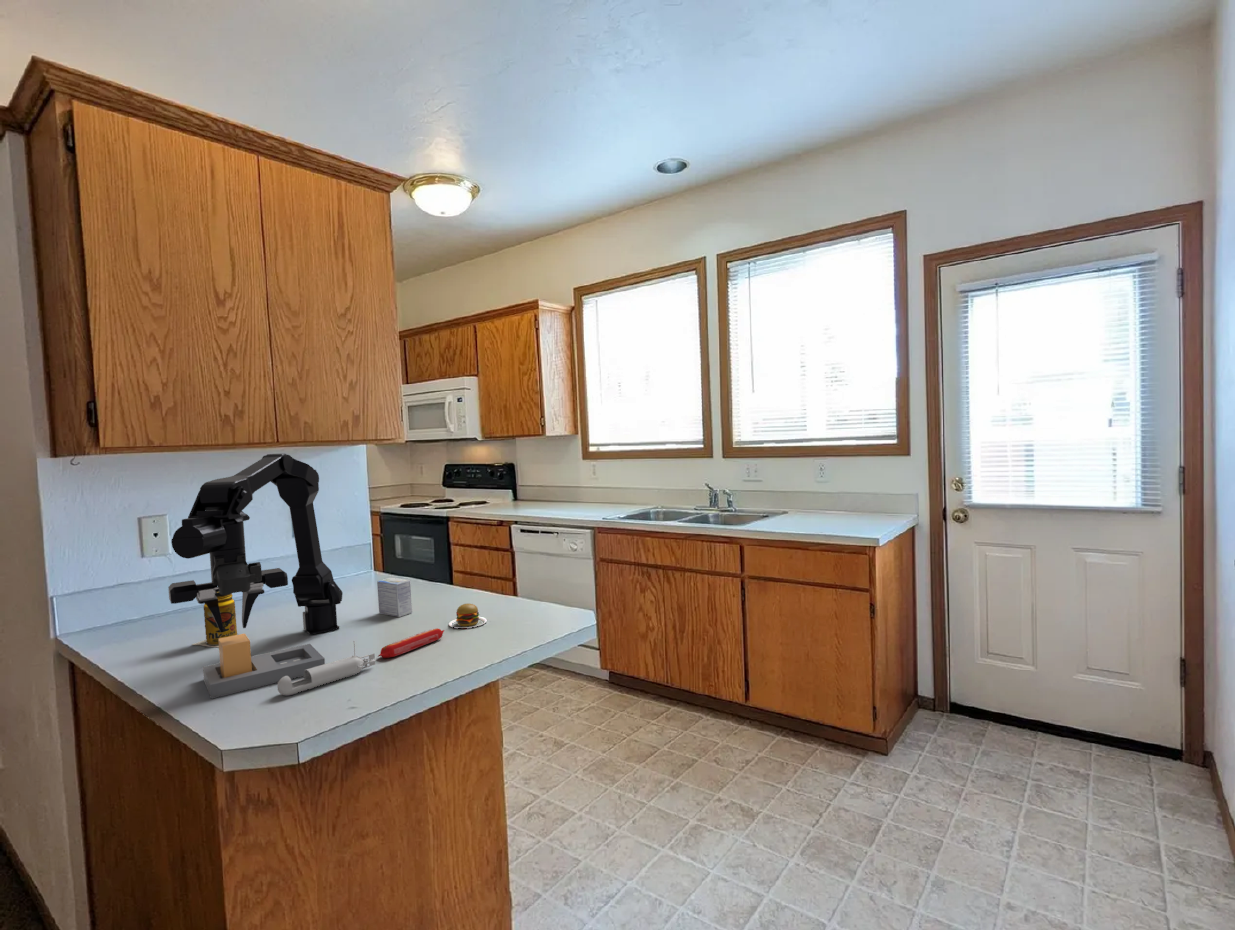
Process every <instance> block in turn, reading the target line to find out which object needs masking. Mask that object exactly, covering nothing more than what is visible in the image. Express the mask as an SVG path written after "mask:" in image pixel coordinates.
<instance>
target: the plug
mask: <svg viewBox="0 0 1235 930" xmlns="http://www.w3.org/2000/svg"><path fill="white" fill-rule="evenodd" d="M250 640H251V639H250V638H249V637H248V636H247V634H246V633H240V634H237V635H234V636H229V637H224V638H219V639H218V641H219V647H218V652H219V653H218V655H219V663H220V669H221V676H222V678H225V677H230V676H234V675H239V674H243V673H247V672H252V664H251V656H252V652H251V641H250Z"/></svg>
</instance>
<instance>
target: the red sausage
mask: <svg viewBox="0 0 1235 930" xmlns="http://www.w3.org/2000/svg"><path fill="white" fill-rule="evenodd" d="M444 632H445V630H444V629H443V630H441V629H440V628H431V629H427V630H424V631H422V632H418V633H416V634H414V635H411V636H408V637H405V638H403V639H399V640H397V641H395V642H394V641H393V642H391V643H389V644H387V645H385V646H383V647H382V648H381V649H380V653H379V654H378V656H377V657H378V658H379V657H381V658H382V659H389V658H394V657H397V656H400V655H403V654H405V653H408V652H410V651H413V650H415V649H419V648H421V647H423V646H425V645H428V644H431V643H433V642H436V641H438V640H439V639H442V638H443V636H444V635H443V634H444Z"/></svg>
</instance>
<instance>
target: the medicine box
mask: <svg viewBox="0 0 1235 930" xmlns="http://www.w3.org/2000/svg"><path fill="white" fill-rule="evenodd" d="M411 587H412V585H411V580H410V579H404V578H397V577H387V578H384V579H380V580H378V581H377V599H378V602H377V603H378V613H379V614H382V615H385V616H386V615H387V616H392V617H398V618H401V617H404V616H406V615H410V614H412V613H413V603H412V588H411Z"/></svg>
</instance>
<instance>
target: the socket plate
mask: <svg viewBox="0 0 1235 930" xmlns="http://www.w3.org/2000/svg"><path fill="white" fill-rule="evenodd" d="M251 664H252V672H247V673H243V674H239V675H234V676H230V677H225V678H222V676H221V669H220V662H219V663H214V664H209V665H205V666H202V674H203V682H204V683H205V687H206V689H207V691H208V694H209V697H210V699H215V698H220V697H223V696H228V695H232V694H236V693H240V691H241V692H244V691H243V690H245V691H248V690H247V689H249V690H252V689H256V688H262V687H265V686H268V685H272V684H278V682H279V680H280V679H281V678H282V677H284V676H289V677H290V679H291V680H293V678H294V679H297V678H296V677H298V678H301V677H304V671H305V670H306V669H310V668H313V667H317V666H320V665H323V664H326V659H325V657H324V656H323V655H322V654H321V653H320V652H319V651H318V650H317V649H316V648H315V647H314V646H313V645H312V644H311V643H307V644H303V645H302V644H301V645H298V646H293V647H287V648H284V649H279V650H274V651H271V652H265V653H260V654H255V655H251ZM264 685H265V686H264ZM219 696H220V697H219Z"/></svg>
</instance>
